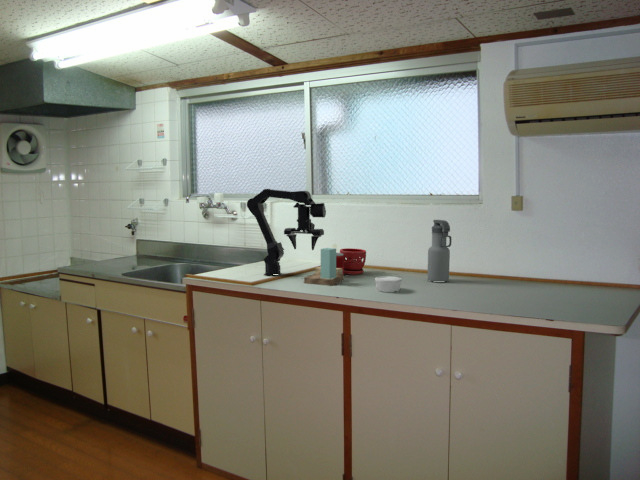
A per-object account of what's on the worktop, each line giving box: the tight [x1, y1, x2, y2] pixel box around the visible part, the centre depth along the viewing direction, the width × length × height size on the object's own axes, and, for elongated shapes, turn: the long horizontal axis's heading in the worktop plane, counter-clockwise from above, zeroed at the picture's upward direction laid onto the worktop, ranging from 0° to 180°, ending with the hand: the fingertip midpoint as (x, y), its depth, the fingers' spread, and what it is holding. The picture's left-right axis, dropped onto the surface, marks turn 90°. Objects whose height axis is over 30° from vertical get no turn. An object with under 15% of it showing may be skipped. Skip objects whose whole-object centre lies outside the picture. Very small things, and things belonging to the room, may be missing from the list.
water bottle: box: [426, 219, 452, 282], centre depth 245 cm, size 10×10×28 cm
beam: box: [314, 266, 342, 276], centre depth 249 cm, size 12×4×3 cm, turn 68°
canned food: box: [336, 252, 344, 275], centre depth 257 cm, size 8×8×11 cm
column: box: [320, 247, 337, 279], centre depth 240 cm, size 5×5×13 cm
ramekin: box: [374, 275, 402, 293], centre depth 225 cm, size 11×11×5 cm
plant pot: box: [339, 247, 367, 276], centre depth 265 cm, size 13×13×12 cm
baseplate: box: [303, 272, 345, 286], centre depth 244 cm, size 14×14×3 cm
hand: (303, 249), depth 256 cm, fingers open, 9 cm apart
